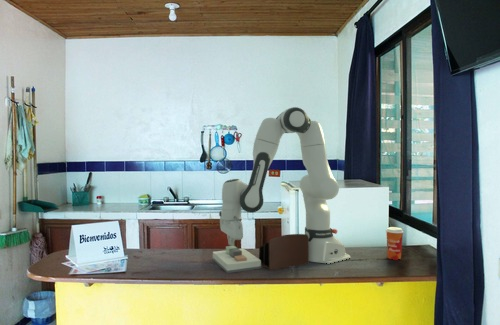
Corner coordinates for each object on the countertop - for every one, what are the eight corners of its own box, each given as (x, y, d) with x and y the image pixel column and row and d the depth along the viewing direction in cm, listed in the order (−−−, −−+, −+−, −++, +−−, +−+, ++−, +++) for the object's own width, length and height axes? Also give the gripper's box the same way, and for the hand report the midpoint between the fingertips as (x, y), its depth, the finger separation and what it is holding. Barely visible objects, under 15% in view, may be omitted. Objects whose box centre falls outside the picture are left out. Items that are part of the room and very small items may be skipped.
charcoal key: (238, 255, 159) (238, 248, 159) (241, 257, 155) (241, 250, 155) (230, 256, 157) (230, 249, 157) (233, 258, 154) (233, 251, 154)
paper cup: (382, 258, 166) (382, 228, 165) (390, 254, 171) (390, 226, 170) (398, 262, 160) (399, 231, 159) (406, 258, 165) (406, 228, 164)
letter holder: (308, 264, 156) (309, 232, 156) (269, 270, 148) (269, 237, 147) (296, 258, 165) (296, 228, 165) (258, 264, 157) (258, 232, 156)
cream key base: (243, 255, 168) (243, 248, 168) (260, 268, 150) (260, 260, 150) (212, 259, 163) (212, 251, 162) (227, 273, 144) (227, 264, 144)
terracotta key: (243, 261, 154) (243, 254, 154) (246, 264, 150) (246, 257, 150) (234, 262, 152) (234, 256, 152) (237, 265, 149) (237, 258, 149)
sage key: (234, 252, 164) (234, 245, 164) (237, 254, 160) (237, 247, 160) (225, 253, 162) (225, 246, 162) (228, 255, 159) (228, 248, 159)
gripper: (246, 218, 152) (246, 250, 153) (230, 211, 171) (230, 239, 172) (233, 219, 150) (232, 251, 150) (217, 211, 169) (217, 240, 169)
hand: (231, 245), depth 161 cm, fingers closed
